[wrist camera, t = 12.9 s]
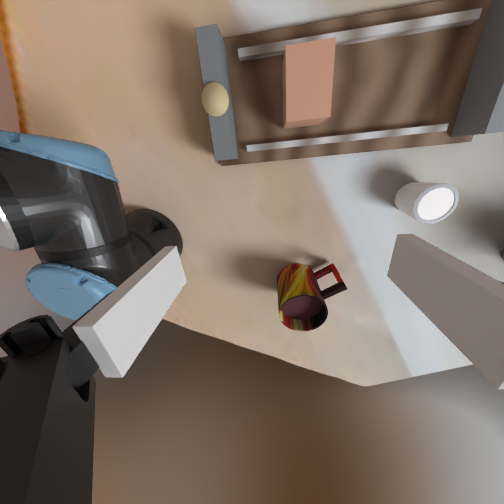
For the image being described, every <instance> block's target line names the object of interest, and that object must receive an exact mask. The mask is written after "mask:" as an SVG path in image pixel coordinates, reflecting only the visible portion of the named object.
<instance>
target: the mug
mask: <svg viewBox="0 0 504 504" xmlns="http://www.w3.org/2000/svg"><path fill="white" fill-rule="evenodd" d="M330 272H333V274H334V276H335V278H336V279H337V281H338V283H337V284H335V285H333V286H331V287H329V288H327V289H325V290H323V291H321V290H320V288H319V285H318V282H317V279H319V278H321V277H323V276H325V275H327V274H328V273H330ZM277 289H278V307H279V318H280V320H281V322H282V323H283V324H284V325H285V326H286V327H288V328H290V329H292V330H295V331H310V330H313V329H316V328H318V327H319V326H321V325H322V324H323V323H324V322H325V320H326V318H327V315H328V309H327V306H326V304H325V301H324V299H326V298H329V297H331V296H333V295H335V294H337V293H339V292H341V291H344V290H346V289H347V287H346V286H345V284H344V282H343V280H342V279H341V277H340V274H339V273H338V271H337V269H336V267H335V266H334V264H330V265H328V266H327V267H325V268H323V269H321V270H319V271H317V272H315V273H314V272H313V271H312V270H311V269H310V268H309V267H307V266H305V265H302V264H292V265H288V266H286V267H285V268H283V269H282V270H281V271H280V273H279V274H278V277H277Z"/></svg>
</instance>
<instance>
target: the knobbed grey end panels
mask: <svg viewBox="0 0 504 504" xmlns="http://www.w3.org/2000/svg"><path fill="white" fill-rule="evenodd" d="M195 34H196V40H197V46H198V53H199V59H200V66H201V72H202V78H203V85H204V89H203V92H202V97H201V100H202V105H203V107H204V109H205V111H206V112H207V113H208V117H209V123H210V130H211V136H212V143H213V149H214V155H215V161H219V160H230V159H238V152H237V143H236V134H235V125H234V116H233V106H232V97H231V88H230V79H229V70H228V61H227V52H226V46H225V43H224V41H223V38H222V36H221V33H220V31H219V28H218V26H217V24H213V25H208V26H202V27H197V28H195ZM495 132H504V0H493V1H492V2H491V5H490V8H489V11H488V15H487V18H486V21H485V25H484V28H483V31H482V35H481V38H480V41H479V45H478V48H477V51H476V54H475V58H474V61H473V64H472V68H471V71H470V74H469V78H468V81H467V84H466V88H465V91H464V94H463V98H462V101H461V104H460V108H459V111H458V114H457V117H456V121H455V124H454V127H453V131H452V134H451V137H457V136H467V135H476V134H486V133H495Z"/></svg>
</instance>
